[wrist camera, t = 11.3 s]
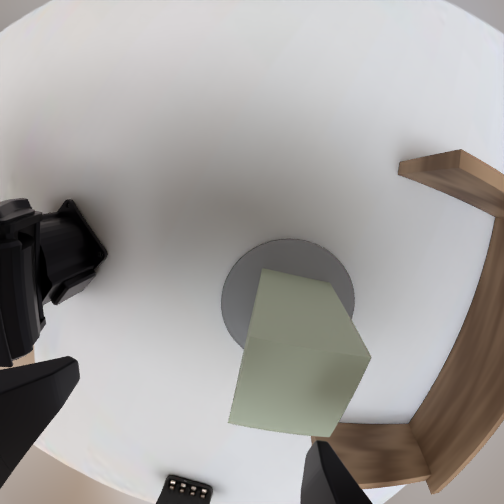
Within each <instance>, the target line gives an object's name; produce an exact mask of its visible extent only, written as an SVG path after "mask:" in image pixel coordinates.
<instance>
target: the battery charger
mask: <svg viewBox="0 0 504 504" xmlns="http://www.w3.org/2000/svg"><path fill="white" fill-rule="evenodd" d="M212 492H213V491H212V488H211V487H209V486H207V485H204V484H201V483H197V482H194V481H190V480H187V479H183V478H180V477H176V476H168V477H167V478H166V480H165V483H164V486H163V489H162V491H161V494H160V496H159V498H158V500H157V502H156V504H210V501H211V498H212V494H213V493H212Z"/></svg>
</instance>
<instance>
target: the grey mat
mask: <svg viewBox="0 0 504 504" xmlns="http://www.w3.org/2000/svg"><path fill="white" fill-rule="evenodd" d="M262 268H264V269H269V270H273V271H278V272H282V273H287V274H292V275H296V276H301V277H305V278H310V279H315V280H319V281H324V282H329V283H330V284H331V285H332V287H333V289H334V291H335V292H336V294H337V296H338V297H339V299H340V301H341V303H342V304H343V306H344V308H345V310H346V312H347V313H348V315H349V317H350V319H351V318H352V315H353V310H354V299H355V298H354V289H353V285H352V282H351V279H350V277H349V275H348V273H347V271H346V269H345V268H344V266H343V265H342V264H341V263H340V261H339V260H338V259H337V258H336V257H335V256H334V255H332V254H331V253H330V252H329V251H327V250H326V249H324V248H322V247H320V246H318V245H316V244H314V243H311V242H308V241H303V240H298V239H281V240H275V241H271V242H268V243H265V244H262V245H260V246H258V247H256V248H254V249H252V250H251V251H249V252H248V253H246V254H245V255H244V256H243V257H242V258H241V259H240V260H239V261H238V262H237V263H236V264H235V266H234V267H233V269H232V270H231V272H230V273H229V275H228V277H227V279H226V281H225V284H224V287H223V291H222V297H221V310H222V316H223V319H224V323H225V325H226V327H227V330H228V331H229V333H230V335H231V336H232V338H233V339H234V340H235V341H236V342H237V343H238V344H239V345H240V346H241V347H242V348H243V349H244V347H245V342H246V338H247V333H248V328H249V324H250V320H251V315H252V311H253V307H254V302H255V298H256V294H257V289H258V285H259V281H260V276H261V272H262Z"/></svg>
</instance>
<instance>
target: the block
mask: <svg viewBox="0 0 504 504" xmlns="http://www.w3.org/2000/svg"><path fill="white" fill-rule="evenodd" d="M370 359H371V356H370V354H369V352H368V350H367V348H366V346H365V344H364V342H363V341H362V339H361V337H360V335H359V333H358V331H357V330H356V328H355V326H354V324H353V322H352V320H351V319H350V317H349V315H348V313H347V312H346V310H345V308H344V306H343V304H342V303H341V301H340V299H339V297H338V296H337V294H336V292H335V291H334V289H333V287H332V285H331V284H330V283H329V282H324V281H319V280H315V279H310V278H305V277H301V276H296V275H292V274H287V273H282V272H278V271H273V270H269V269H264V268H262V272H261V276H260V281H259V285H258V289H257V294H256V298H255V302H254V307H253V311H252V315H251V320H250V324H249V328H248V333H247V338H246V342H245V347H244V352H243V356H242V361H241V366H240V370H239V375H238V380H237V384H236V389H235V393H234V398H233V403H232V407H231V412H230V416H229V421H228V423H230V424H235V425H240V426H245V427H250V428H256V429H262V430H268V431H274V432H281V433H289V434H297V435H307V436H318V437H330V436H331V434H332V432H333V431H334V429H335V427H336V426H337V424H338V422H339V420H340V419H341V417H342V415H343V413H344V411H345V410H346V408H347V406H348V404H349V402H350V400H351V398H352V397H353V395H354V393H355V391H356V389H357V387H358V385H359V383H360V381H361V379H362V377H363V374H364V372H365V370H366V368H367V366H368V364H369V362H370Z"/></svg>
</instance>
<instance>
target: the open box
mask: <svg viewBox="0 0 504 504" xmlns="http://www.w3.org/2000/svg"><path fill="white" fill-rule="evenodd" d="M398 175H400V176H403V177H406V178H409V179H411V180H414V181H416V182H419V183H422V184H424V185H427V186H429V187H432V188H434V189H436V190H439V191H441V192H444V193H446V194H448V195H450V196H453V197H455V198H457V199H459V200H462V201H464V202H466V203H468V204H470V205H472V206H474V207H477V208H479V209H481V210H483V211H485V212H487V213H489V214H491V215H492V216H494V217H495V222H494V227H493V232H492V236H491V241H490V245H489V249H488V253H487V257H486V260H485V264H484V267H483V271H482V274H481V277H480V280H479V283H478V286H477V289H476V292H475V295H474V298H473V301H472V303H471V306H470V309H469V311H468V314H467V316H466V319H465V321H464V324H463V326H462V328H461V331H460V333H459V335H458V337H457V340H456V342H455V344H454V346H453V348H452V350H451V352H450V354H449V356H448V358H447V360H446V362H445V364H444V366H443V368H442V370H441V372H440V374H439V375H438V377H437V379H436V381H435V383H434V384H433V386H432V388H431V389H430V391H429V393H428V395H427V396H426V398H425V399H424V401H423V403H422V404H421V406H420V407H419V409H418V410H417V412H416V413H415V415H414V416H413V418H412V419H411V421H410V422H409V424H352V423H338V424H337V426H336V427H335V429H334V431H333V432H332V434H331V436H330V437H318V436H311V441H312V445H313V443H314V442H315V441H316V440H322V441H327V442H328V443H329V444H330V446H331V447H332V448H333V450H334V451H335V453H336V454H337V456H338V457H339V458H340V460H341V461H342V463H343V464H344V465H345V467H346V468H347V470H348V471H349V472H350V474H351V475H352V477H353V478H354V479H355V481H356V482H357V483H358V485H359V486H360V488H361V489H371V488H381V487H390V486H397V485H404V484H410V483H415V482H420V481H425V480H426V482H427V485H428V487H429V490H430V492H431V494H435V493H439V492H440V491H441V490H442V489H443V488H444V487H445V486H446V485H448V483H450V482H451V481H452V480H453V479H454V478H455V477H456V476H457V475H458V474H459V473H460V472H461V470H463V469H464V468H465V466H466V465H467V464H468V463H469V462H470V461H471V460H472V459H473V458H474V457H475V456H476V454H477V453H478V452H479V451H480V449H481V448H482V447H483V446H484V445H485V444H486V443H487V441H488V440H489V439H490V438H491V436H492V435H493V434H494V432H495V431H496V430H497V428H498V427H499V426H500V424H501V423H502V422H503V420H504V174H502V173H501V172H499V171H497V170H496V169H494V168H493V167H491V166H489V165H488V164H486V163H484V162H483V161H481V160H479V159H478V158H476V157H474V156H472V155H471V154H469V153H467V152H465V151H463V150H462V149H460V150H455V151H450V152H445V153H440V154H435V155H430V156H425V157H420V158H416V159H411V160H407V161H402V162H400V165H399V170H398Z"/></svg>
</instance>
